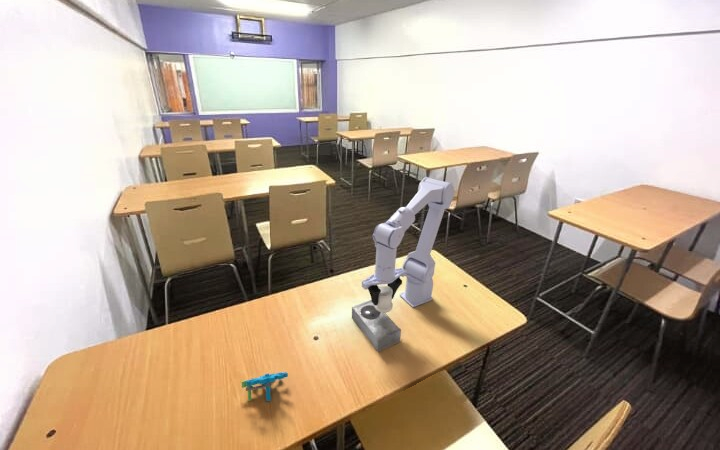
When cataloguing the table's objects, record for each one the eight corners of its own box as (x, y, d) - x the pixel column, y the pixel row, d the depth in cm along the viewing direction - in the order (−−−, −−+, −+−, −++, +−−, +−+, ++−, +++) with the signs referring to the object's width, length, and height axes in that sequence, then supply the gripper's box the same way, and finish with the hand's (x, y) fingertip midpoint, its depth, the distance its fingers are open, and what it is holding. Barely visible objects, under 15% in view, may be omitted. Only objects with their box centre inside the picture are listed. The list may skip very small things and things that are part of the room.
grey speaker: (372, 309, 104) (373, 299, 102) (400, 341, 91) (401, 330, 89) (351, 317, 100) (351, 306, 98) (377, 351, 87) (378, 340, 85)
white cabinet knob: (387, 299, 97) (387, 283, 94) (395, 309, 92) (396, 293, 90) (371, 303, 95) (371, 287, 92) (379, 314, 90) (379, 298, 88)
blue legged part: (291, 367, 80) (282, 373, 70) (293, 392, 78) (284, 401, 68) (249, 375, 79) (234, 382, 70) (250, 400, 77) (235, 410, 68)
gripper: (397, 251, 94) (393, 286, 99) (356, 262, 87) (355, 300, 92) (411, 261, 88) (407, 298, 94) (370, 275, 81) (367, 314, 87)
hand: (382, 300), depth 93 cm, fingers closed on white cabinet knob, 5 cm apart
